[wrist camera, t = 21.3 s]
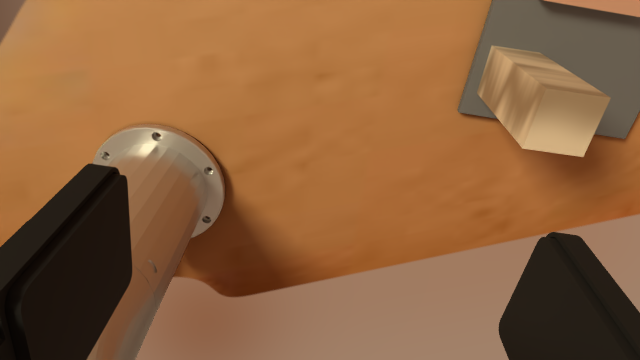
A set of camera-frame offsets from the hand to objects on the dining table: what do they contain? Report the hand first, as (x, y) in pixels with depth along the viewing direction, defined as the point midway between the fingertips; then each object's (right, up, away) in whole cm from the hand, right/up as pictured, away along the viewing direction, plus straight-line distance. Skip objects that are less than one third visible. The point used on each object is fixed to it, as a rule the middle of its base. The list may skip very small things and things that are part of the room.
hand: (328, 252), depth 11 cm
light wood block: (+15, +10, +28) cm, 33 cm away
